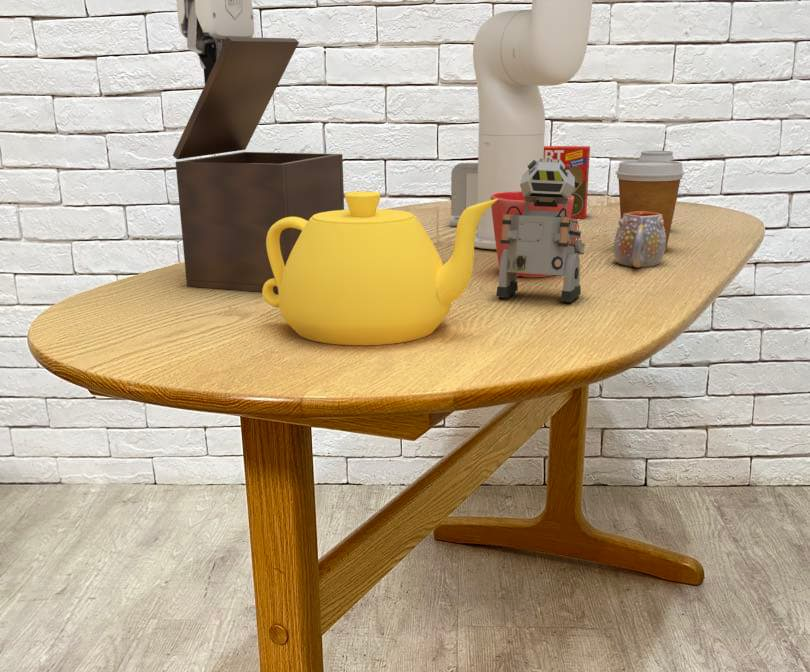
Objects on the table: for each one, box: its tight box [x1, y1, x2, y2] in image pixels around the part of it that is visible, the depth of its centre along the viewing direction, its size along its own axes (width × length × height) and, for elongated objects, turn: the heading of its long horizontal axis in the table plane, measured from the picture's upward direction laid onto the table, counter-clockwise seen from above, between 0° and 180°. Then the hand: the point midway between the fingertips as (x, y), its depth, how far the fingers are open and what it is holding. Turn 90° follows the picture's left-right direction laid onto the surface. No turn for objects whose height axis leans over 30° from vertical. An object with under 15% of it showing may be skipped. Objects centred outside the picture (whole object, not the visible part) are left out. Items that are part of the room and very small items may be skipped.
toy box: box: [544, 145, 591, 220], centre depth 191 cm, size 18×4×12 cm, turn 77°
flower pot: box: [491, 191, 574, 278], centre depth 141 cm, size 11×11×10 cm
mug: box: [612, 211, 666, 269], centre depth 144 cm, size 12×7×7 cm, turn 163°
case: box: [175, 151, 345, 294], centre depth 137 cm, size 15×16×15 cm
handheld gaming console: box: [450, 162, 478, 227], centre depth 183 cm, size 13×9×10 cm
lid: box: [172, 36, 300, 160], centre depth 133 cm, size 16×16×1 cm
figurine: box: [495, 159, 586, 304], centre depth 126 cm, size 9×12×15 cm
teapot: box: [261, 190, 498, 346], centre depth 111 cm, size 25×18×14 cm
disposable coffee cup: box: [615, 159, 685, 252], centre depth 156 cm, size 10×10×12 cm
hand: (220, 103), depth 134 cm, fingers closed
